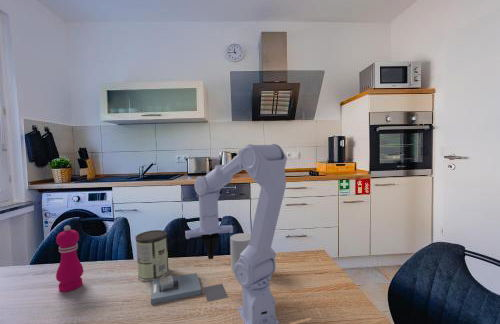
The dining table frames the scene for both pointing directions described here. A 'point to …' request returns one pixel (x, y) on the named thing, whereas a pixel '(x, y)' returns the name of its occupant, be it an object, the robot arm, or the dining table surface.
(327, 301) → the dining table surface
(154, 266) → the coffee can
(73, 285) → the pepper mill
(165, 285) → the clip
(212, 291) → the pad
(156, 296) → the board
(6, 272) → the dining table surface
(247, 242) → the cup
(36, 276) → the dining table surface
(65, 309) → the dining table surface
